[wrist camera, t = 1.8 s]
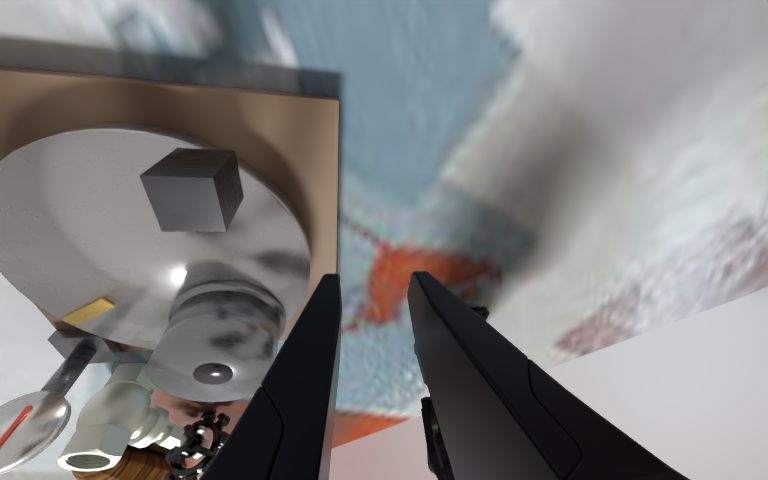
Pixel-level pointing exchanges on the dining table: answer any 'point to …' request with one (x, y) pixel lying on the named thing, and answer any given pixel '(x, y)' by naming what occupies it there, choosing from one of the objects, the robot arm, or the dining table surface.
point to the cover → (218, 342)
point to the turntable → (141, 227)
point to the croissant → (132, 468)
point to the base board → (201, 120)
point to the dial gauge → (50, 398)
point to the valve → (137, 428)
